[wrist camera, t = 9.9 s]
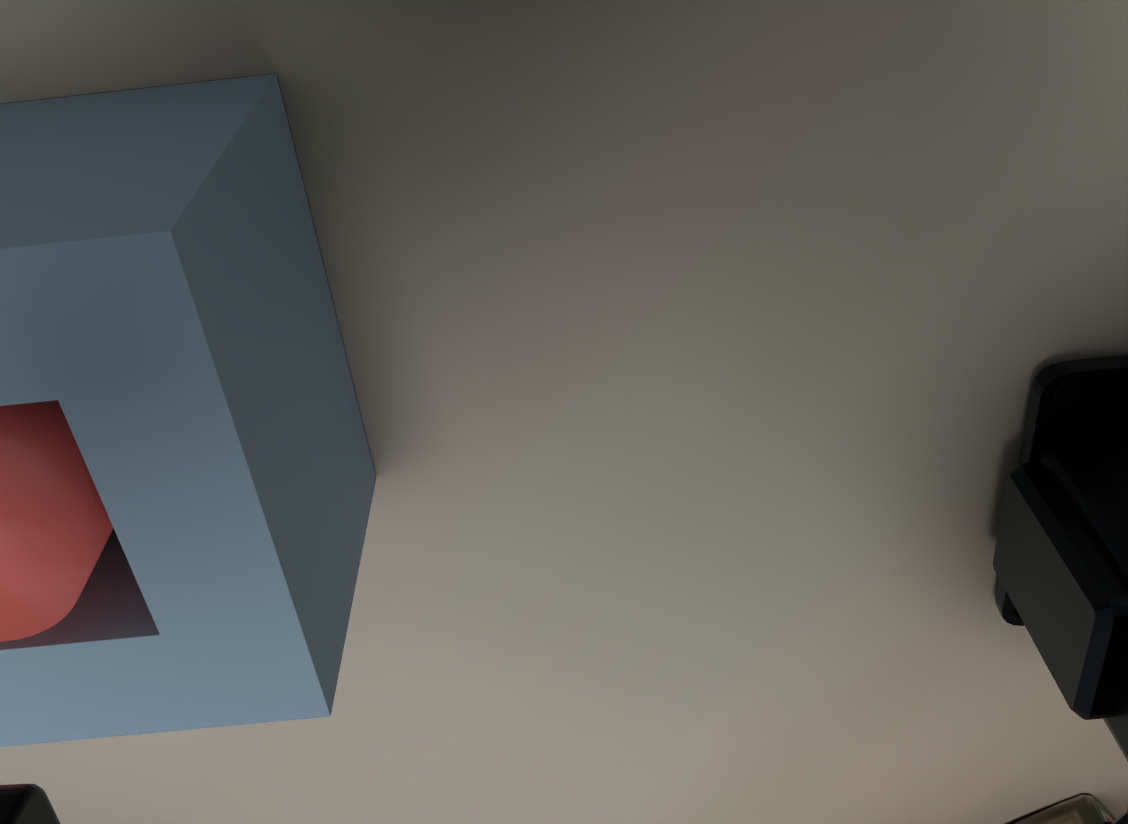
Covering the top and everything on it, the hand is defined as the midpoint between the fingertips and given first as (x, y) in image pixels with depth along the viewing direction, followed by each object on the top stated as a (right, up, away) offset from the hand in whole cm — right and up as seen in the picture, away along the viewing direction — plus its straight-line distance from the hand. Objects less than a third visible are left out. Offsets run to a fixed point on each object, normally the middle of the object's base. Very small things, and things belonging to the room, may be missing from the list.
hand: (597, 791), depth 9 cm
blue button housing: (-8, +5, +10) cm, 14 cm away
